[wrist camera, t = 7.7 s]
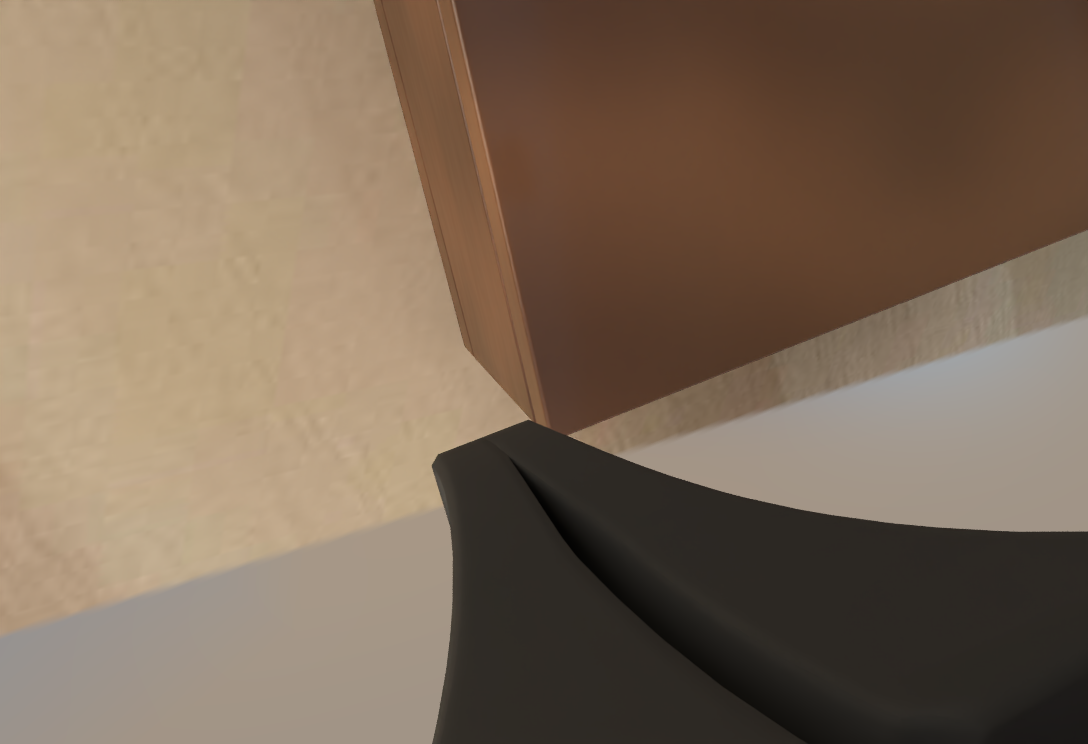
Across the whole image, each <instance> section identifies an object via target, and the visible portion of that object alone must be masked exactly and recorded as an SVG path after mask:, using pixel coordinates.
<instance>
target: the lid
mask: <svg viewBox="0 0 1088 744" xmlns="http://www.w3.org/2000/svg"><path fill="white" fill-rule="evenodd" d="M438 2H439V7H440V11H441V15H442V19H443V24H444V28H445V32H446V37H447V41H448V45H449V50H450V54H451V58H452V62H453V67H454V71H455V75H456V80H457V84H458V88H459V92H460V97H461V101H462V105H463V110H464V114H465V118H466V123H467V127H468V131H469V135H470V140H471V144H472V148H473V153H474V157H475V161H476V165H477V170H478V174H479V178H480V183H481V187H482V191H483V196H484V200H485V204H486V208H487V213H488V217H489V221H490V226H491V230H492V234H493V238H494V243H495V247H496V251H497V256H498V260H499V264H500V269H501V273H502V277H503V281H504V286H505V290H506V294H507V299H508V303H509V307H510V311H511V316H512V320H513V324H514V329H515V333H516V337H517V342H518V346H519V350H520V354H521V359H522V363H523V367H524V372H525V376H526V380H527V384H528V389H529V393H530V397H531V402H532V406H533V410H534V415H535V419H536V423H538V424H540V425H542V426H545V427H547V428H550V429H552V430H554V431H557V432H559V433H561V434H564V435H566V436H567V435H569V434H572V433H574V432H577V431H579V430H582V429H584V428H587V427H589V426H592V425H594V424H597V423H599V422H602V421H605V420H607V419H610V418H612V417H615V416H617V415H620V414H622V413H625V412H627V411H630V410H632V409H635V408H637V407H640V406H643V405H645V404H648V403H650V402H653V401H655V400H658V399H660V398H663V397H665V396H668V395H670V394H673V393H675V392H678V391H681V390H683V389H686V388H688V387H691V386H693V385H696V384H698V383H701V382H703V381H706V380H708V379H711V378H713V377H716V376H719V375H721V374H724V373H726V372H729V371H731V370H734V369H736V368H739V367H741V366H744V365H746V364H749V363H751V362H754V361H757V360H759V359H762V358H764V357H767V356H769V355H772V354H774V353H777V352H779V351H782V350H784V349H787V348H789V347H792V346H795V345H797V344H800V343H802V342H805V341H807V340H810V339H812V338H815V337H817V336H820V335H822V334H825V333H828V332H830V331H833V330H835V329H838V328H840V327H843V326H845V325H848V324H850V323H853V322H855V321H858V320H860V319H863V318H866V317H868V316H871V315H873V314H876V313H878V312H881V311H883V310H886V309H888V308H891V307H893V306H896V305H898V304H901V303H904V302H906V301H909V300H911V299H914V298H916V297H919V296H921V295H924V294H926V293H929V292H931V291H934V290H936V289H939V288H942V287H944V286H947V285H949V284H952V283H954V282H957V281H959V280H962V279H964V278H967V277H969V276H972V275H974V274H977V273H980V272H982V271H985V270H987V269H990V268H992V267H995V266H997V265H1000V264H1002V263H1005V262H1007V261H1010V260H1012V259H1015V258H1018V257H1020V256H1023V255H1025V254H1028V253H1030V252H1033V251H1035V250H1038V249H1040V248H1043V247H1045V246H1048V245H1050V244H1053V243H1056V242H1058V241H1061V240H1063V239H1066V238H1068V237H1071V236H1073V235H1076V234H1078V233H1081V232H1083V231H1086V230H1088V0H438Z"/></svg>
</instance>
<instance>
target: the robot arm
mask: <svg viewBox="0 0 1088 744" xmlns="http://www.w3.org/2000/svg"><path fill="white" fill-rule="evenodd" d="M432 468H433V472H434V475H435V478H436V482H437V485H438V488H439V492H440V495H441V498H442V501H443V505H444V508H445V511H446V515H447V518H448V521H449V524H450V527H451V539H452V550H453V604H452V605H453V606H452V621H451V633H450V643H449V651H448V660H447V668H446V674H445V680H444V686H443V692H442V697H441V703H440V709H439V715H438V720H437V725H436V730H435V734H434V739H433V743H432V744H1088V532H1009V531H988V530H971V529H953V528H936V527H925V526H914V525H904V524H893V523H884V522H878V521H871V520H863V519H856V518H848V517H841V516H834V515H827V514H821V513H816V512H810V511H804V510H799V509H794V508H789V507H785V506H780V505H776V504H771V503H766V502H762V501H758V500H753V499H749V498H744V497H740V496H736V495H732V494H729V493H725V492H721V491H718V490H714V489H711V488H708V487H704V486H701V485H698V484H694V483H691V482H688V481H685V480H682V479H678V478H675V477H672V476H669V475H666V474H663V473H660V472H657V471H655V470H652V469H649V468H646V467H643V466H641V465H638V464H635V463H633V462H630V461H627V460H625V459H622V458H620V457H617V456H614V455H612V454H610V453H607V452H605V451H602V450H600V449H597V448H595V447H592V446H590V445H588V444H585V443H583V442H580V441H578V440H576V439H573V438H571V437H568V436H566V435H564V434H561V433H559V432H557V431H554V430H552V429H550V428H547V427H545V426H542V425H540V424H538V423H535V422H532V421H530V420H527V421H524V422H521V423H519V424H516V425H514V426H511V427H508V428H506V429H503V430H501V431H498V432H495V433H493V434H490V435H488V436H485V437H482V438H480V439H477V440H475V441H472V442H469V443H467V444H464V445H462V446H459V447H456V448H454V449H451V450H449V451H446V452H443V453H441V454H438V456H437V457H436V459H435V461H434V462H433V464H432Z"/></svg>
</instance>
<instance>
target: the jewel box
mask: <svg viewBox="0 0 1088 744" xmlns="http://www.w3.org/2000/svg"><path fill="white" fill-rule="evenodd" d="M374 4H375V8H376V12H377V16H378V19H379V23H380V27H381V31H382V35H383V38H384V42H385V46H386V50H387V54H388V57H389V61H390V65H391V69H392V72H393V76H394V80H395V84H396V88H397V91H398V95H399V99H400V103H401V107H402V110H403V114H404V118H405V122H406V126H407V129H408V133H409V137H410V141H411V144H412V148H413V152H414V156H415V160H416V163H417V167H418V171H419V175H420V179H421V182H422V186H423V190H424V194H425V197H426V201H427V205H428V209H429V213H430V216H431V220H432V224H433V228H434V232H435V235H436V239H437V243H438V247H439V251H440V254H441V258H442V262H443V266H444V269H445V273H446V277H447V281H448V285H449V288H450V292H451V296H452V300H453V304H454V307H455V311H456V315H457V319H458V323H459V326H460V330H461V334H462V338H463V341H464V345H465V347H466V348H467V349H468V351H469V352H470V353H471V354H472V355H473V356H474V357H475V359H476V360H477V361H478V362H479V363H480V364H481V365H482V366H483V367H484V368H485V370H486V371H487V372H488V373H489V374H490V375H491V376H492V377H493V378H494V379H495V381H496V382H497V383H498V384H499V385H500V386H501V387H502V388H503V389H504V390H505V391H506V393H507V394H508V395H509V396H510V397H511V398H512V399H513V400H514V401H515V402H516V404H517V405H518V406H519V407H520V408H521V409H522V410H523V411H524V412H525V413H526V415H527V416H528V417H529V418H530V419H531V420H532V421H533V422H535V423H536V419H535V415H534V410H533V406H532V402H531V397H530V393H529V389H528V384H527V380H526V376H525V372H524V367H523V363H522V359H521V354H520V350H519V346H518V342H517V337H516V333H515V329H514V324H513V320H512V316H511V311H510V307H509V303H508V299H507V294H506V290H505V286H504V281H503V277H502V273H501V269H500V264H499V260H498V256H497V251H496V247H495V243H494V238H493V234H492V230H491V226H490V221H489V217H488V213H487V208H486V204H485V200H484V196H483V191H482V187H481V183H480V178H479V174H478V170H477V165H476V161H475V157H474V153H473V148H472V144H471V140H470V135H469V131H468V127H467V123H466V118H465V114H464V110H463V105H462V101H461V97H460V92H459V88H458V84H457V80H456V75H455V71H454V67H453V62H452V58H451V54H450V50H449V45H448V41H447V37H446V32H445V28H444V24H443V19H442V15H441V11H440V7H439V2H438V0H374Z"/></svg>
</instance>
